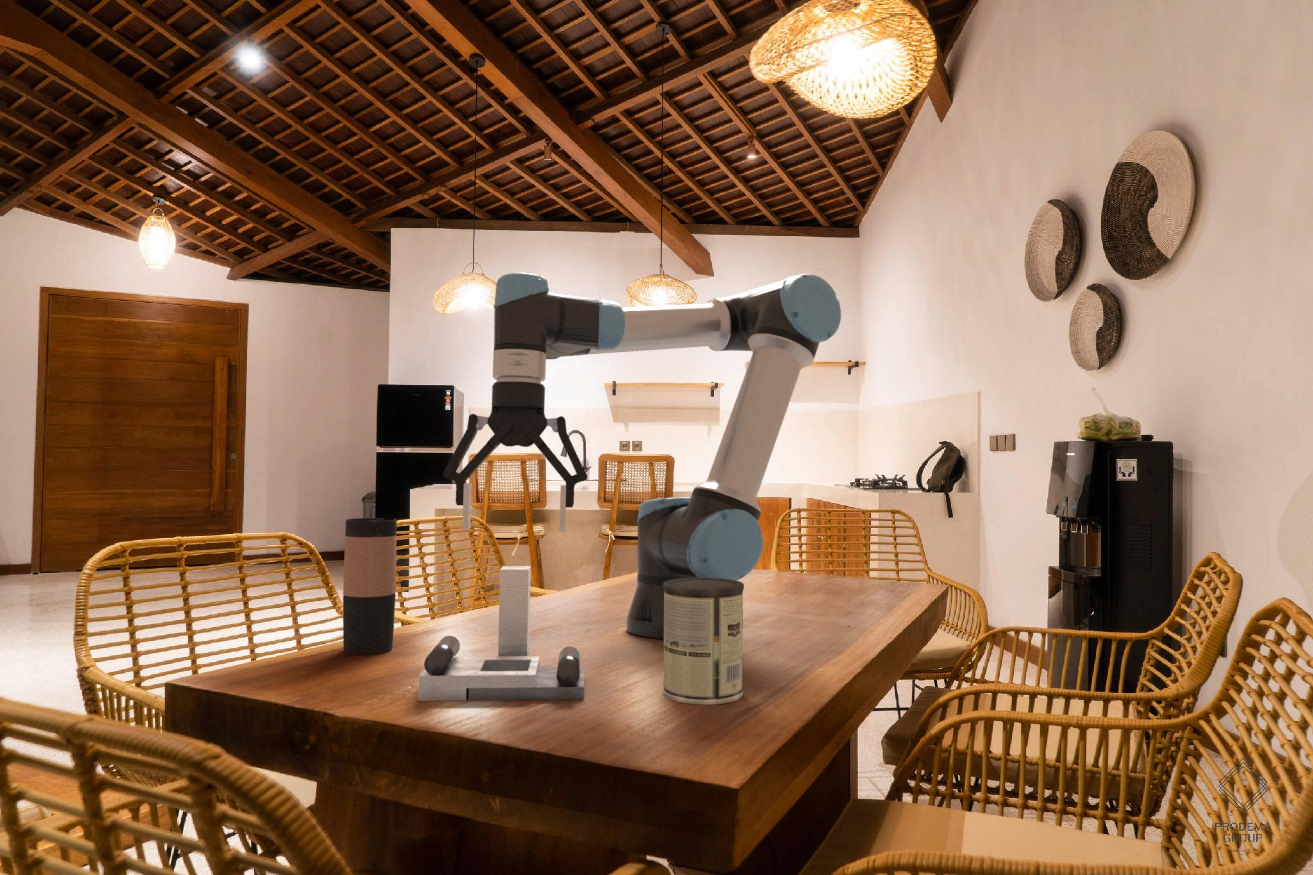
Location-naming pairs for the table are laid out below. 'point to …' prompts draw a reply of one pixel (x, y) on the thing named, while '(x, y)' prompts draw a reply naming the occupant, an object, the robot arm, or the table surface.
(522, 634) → the pin
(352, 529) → the travel mug
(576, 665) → the base with two rollers
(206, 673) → the table surface
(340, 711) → the table surface
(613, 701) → the table surface
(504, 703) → the table surface
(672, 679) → the coffee can
